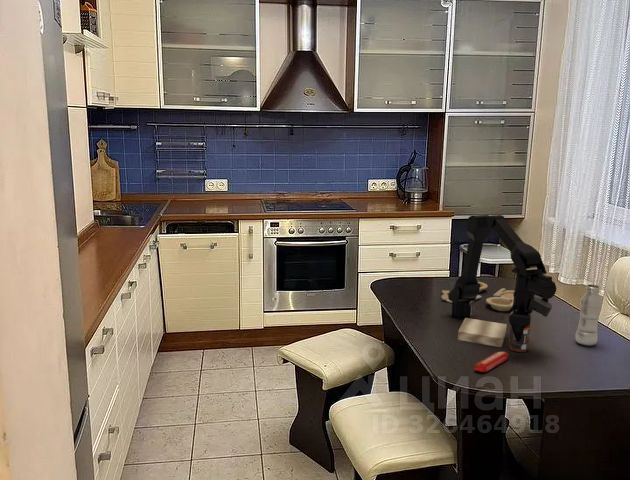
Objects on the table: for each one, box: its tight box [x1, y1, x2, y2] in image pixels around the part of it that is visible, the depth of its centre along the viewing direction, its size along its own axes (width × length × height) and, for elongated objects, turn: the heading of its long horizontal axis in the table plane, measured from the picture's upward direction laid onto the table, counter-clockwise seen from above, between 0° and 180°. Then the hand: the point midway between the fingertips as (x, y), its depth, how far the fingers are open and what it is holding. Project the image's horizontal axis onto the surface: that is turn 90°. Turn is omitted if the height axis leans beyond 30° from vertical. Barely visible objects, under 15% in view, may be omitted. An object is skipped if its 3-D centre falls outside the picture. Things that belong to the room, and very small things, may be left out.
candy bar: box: [473, 351, 509, 373], centre depth 171 cm, size 16×4×3 cm, turn 135°
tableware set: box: [440, 281, 514, 312], centre depth 232 cm, size 35×29×4 cm
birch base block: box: [457, 317, 508, 348], centre depth 193 cm, size 14×14×3 cm
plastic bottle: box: [574, 283, 603, 347], centre depth 186 cm, size 6×7×20 cm
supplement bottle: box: [508, 325, 531, 353], centre depth 182 cm, size 6×6×11 cm
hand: (519, 335), depth 182 cm, fingers open, 9 cm apart
